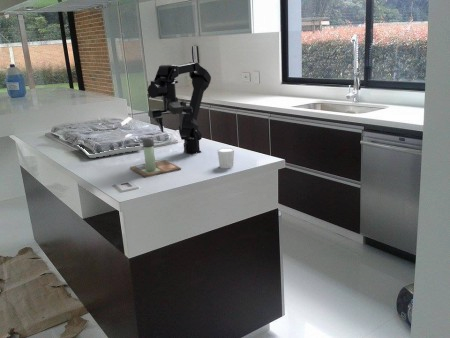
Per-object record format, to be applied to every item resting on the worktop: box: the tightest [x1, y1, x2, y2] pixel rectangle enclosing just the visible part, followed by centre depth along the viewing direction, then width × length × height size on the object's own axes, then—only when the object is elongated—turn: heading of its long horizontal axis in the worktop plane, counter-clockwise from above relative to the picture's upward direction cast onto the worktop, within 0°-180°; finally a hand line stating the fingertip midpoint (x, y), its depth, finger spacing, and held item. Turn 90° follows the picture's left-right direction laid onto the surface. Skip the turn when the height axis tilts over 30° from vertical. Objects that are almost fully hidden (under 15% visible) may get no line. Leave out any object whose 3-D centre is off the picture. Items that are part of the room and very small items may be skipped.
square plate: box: [76, 143, 144, 159], centre depth 215 cm, size 27×27×4 cm
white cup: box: [217, 147, 235, 169], centre depth 177 cm, size 7×7×7 cm
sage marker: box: [141, 137, 156, 171], centre depth 173 cm, size 4×4×13 cm
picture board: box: [129, 159, 182, 178], centre depth 179 cm, size 16×16×1 cm
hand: (172, 130), depth 189 cm, fingers open, 9 cm apart
